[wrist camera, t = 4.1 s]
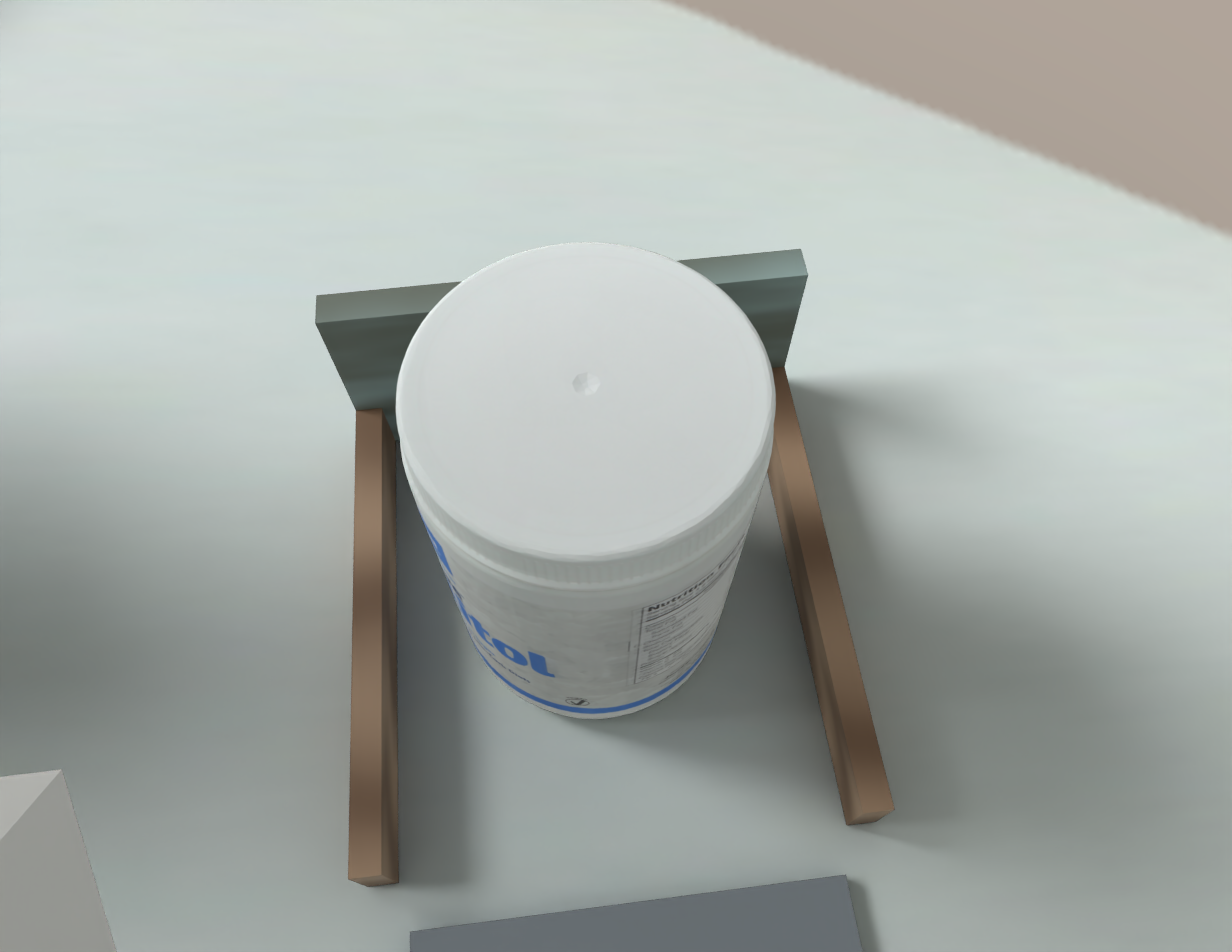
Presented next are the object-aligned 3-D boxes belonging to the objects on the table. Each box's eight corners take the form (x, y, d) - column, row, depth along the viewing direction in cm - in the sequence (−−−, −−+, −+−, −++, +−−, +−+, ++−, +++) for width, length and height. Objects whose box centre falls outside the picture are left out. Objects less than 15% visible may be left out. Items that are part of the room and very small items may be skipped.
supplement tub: (416, 618, 35) (295, 404, 22) (577, 446, 39) (555, 176, 26) (618, 785, 32) (614, 651, 19) (773, 583, 36) (858, 355, 23)
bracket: (875, 821, 32) (948, 775, 24) (367, 886, 31) (291, 857, 24) (769, 377, 40) (800, 248, 33) (371, 418, 39) (316, 295, 32)
